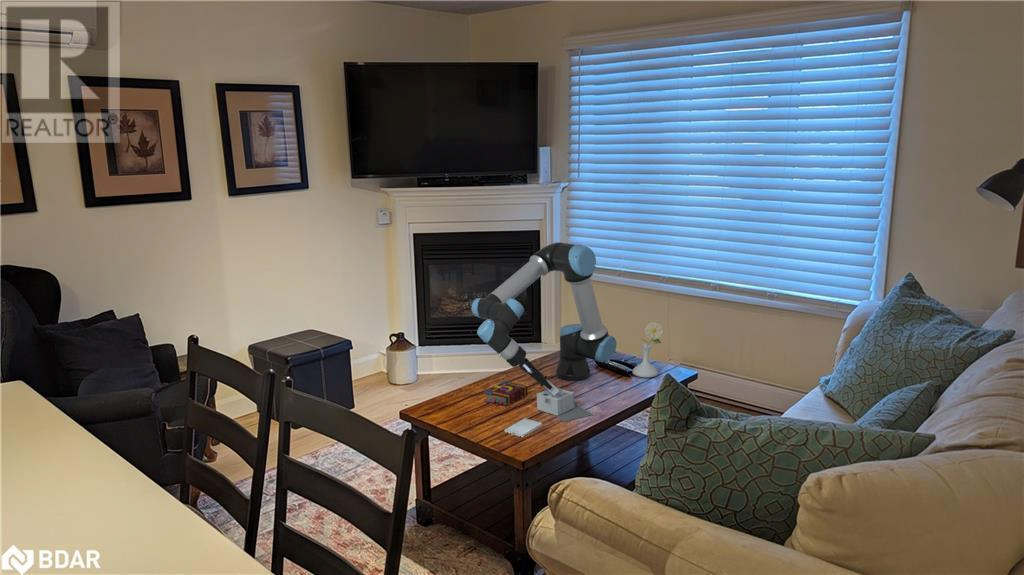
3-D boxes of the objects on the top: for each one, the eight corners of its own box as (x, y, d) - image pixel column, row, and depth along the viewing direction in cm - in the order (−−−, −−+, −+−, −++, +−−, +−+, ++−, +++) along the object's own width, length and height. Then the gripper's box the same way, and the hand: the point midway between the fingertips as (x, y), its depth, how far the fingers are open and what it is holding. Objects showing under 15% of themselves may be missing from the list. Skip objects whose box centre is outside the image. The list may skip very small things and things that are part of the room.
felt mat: (569, 401, 278) (569, 400, 278) (593, 415, 264) (593, 414, 264) (542, 407, 272) (542, 407, 271) (564, 422, 258) (564, 421, 258)
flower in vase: (629, 378, 304) (631, 323, 299) (635, 370, 314) (637, 316, 309) (659, 381, 299) (661, 326, 294) (664, 373, 309) (666, 319, 304)
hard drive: (524, 417, 260) (504, 428, 250) (542, 423, 255) (522, 434, 245) (524, 422, 260) (504, 433, 250) (542, 427, 255) (522, 438, 245)
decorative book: (527, 396, 285) (527, 384, 284) (505, 408, 272) (505, 396, 271) (505, 390, 291) (505, 379, 290) (482, 402, 278) (482, 391, 277)
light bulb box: (536, 393, 268) (553, 385, 275) (536, 409, 269) (553, 401, 277) (557, 400, 261) (575, 391, 268) (557, 416, 262) (575, 408, 270)
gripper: (502, 354, 261) (545, 393, 268) (508, 365, 249) (553, 406, 255) (516, 340, 261) (559, 379, 267) (522, 350, 248) (567, 391, 255)
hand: (556, 392), depth 261 cm, fingers closed
